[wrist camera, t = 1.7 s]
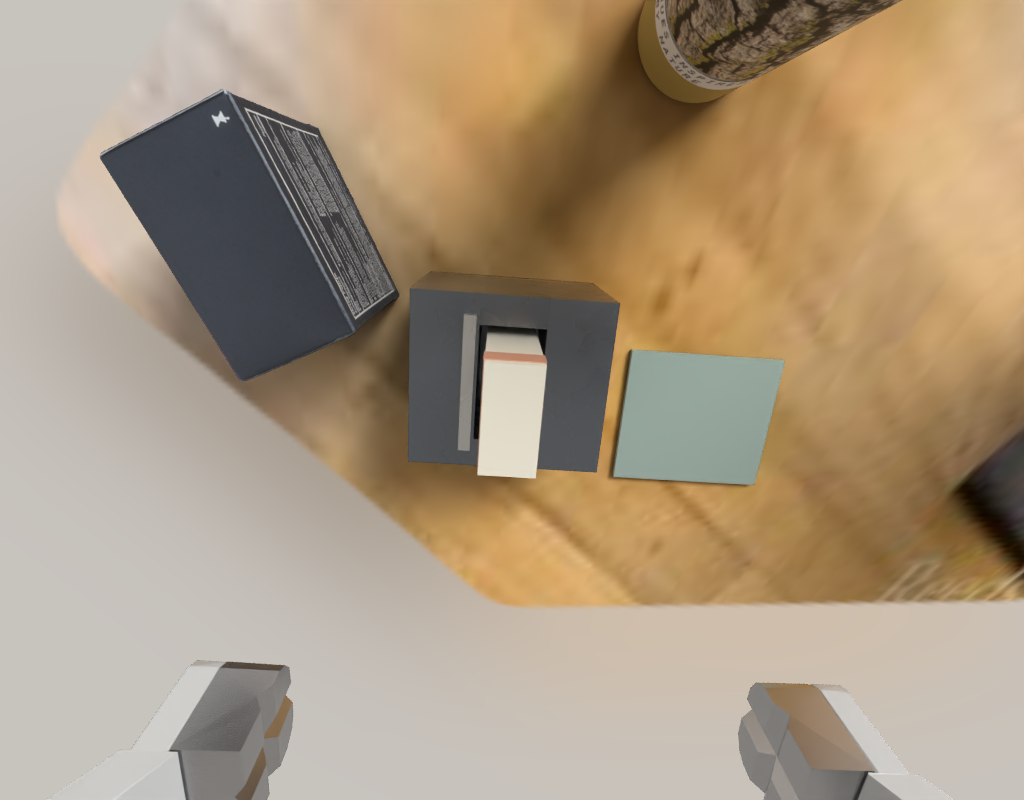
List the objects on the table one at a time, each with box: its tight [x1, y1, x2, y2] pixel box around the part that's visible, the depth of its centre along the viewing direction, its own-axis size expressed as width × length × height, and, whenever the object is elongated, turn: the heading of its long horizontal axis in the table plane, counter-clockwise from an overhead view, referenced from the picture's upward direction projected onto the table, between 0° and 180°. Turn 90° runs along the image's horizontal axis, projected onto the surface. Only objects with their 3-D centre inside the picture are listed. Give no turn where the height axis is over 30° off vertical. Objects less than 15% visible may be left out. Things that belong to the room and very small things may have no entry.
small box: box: [100, 89, 399, 381], centre depth 27 cm, size 11×6×10 cm, turn 23°
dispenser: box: [408, 271, 620, 472], centre depth 30 cm, size 10×9×8 cm
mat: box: [612, 349, 785, 485], centre depth 36 cm, size 10×9×1 cm
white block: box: [477, 325, 547, 478], centre depth 27 cm, size 3×5×10 cm, turn 176°
